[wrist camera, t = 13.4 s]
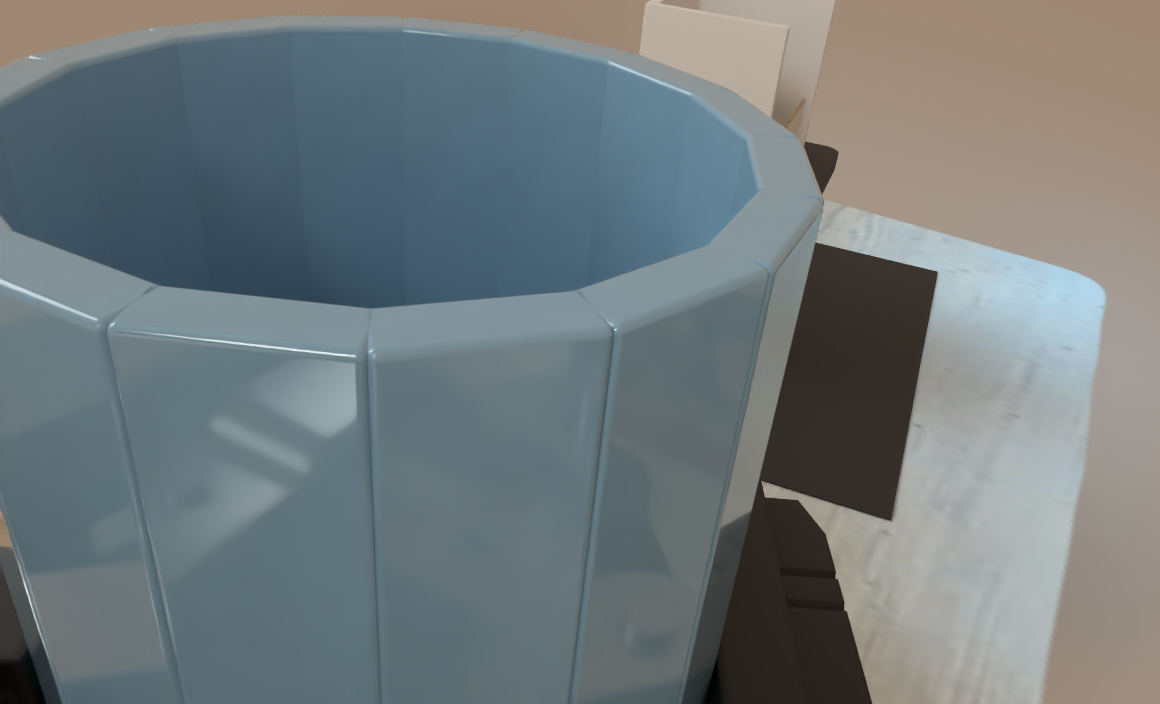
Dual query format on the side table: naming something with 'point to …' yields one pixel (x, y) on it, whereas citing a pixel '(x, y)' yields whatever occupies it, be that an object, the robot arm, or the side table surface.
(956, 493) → the side table surface
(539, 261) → the cup
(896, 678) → the side table surface
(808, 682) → the robot arm
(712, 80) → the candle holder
